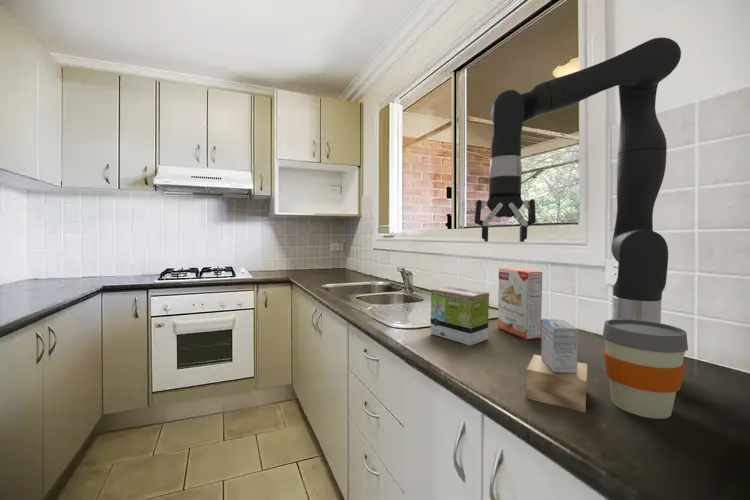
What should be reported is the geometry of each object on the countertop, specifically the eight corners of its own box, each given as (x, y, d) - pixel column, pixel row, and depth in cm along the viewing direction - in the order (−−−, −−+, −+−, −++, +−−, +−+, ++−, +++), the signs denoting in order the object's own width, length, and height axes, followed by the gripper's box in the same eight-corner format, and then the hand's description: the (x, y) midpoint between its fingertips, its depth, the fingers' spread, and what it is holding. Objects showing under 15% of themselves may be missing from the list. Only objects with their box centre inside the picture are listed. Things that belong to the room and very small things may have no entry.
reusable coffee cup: (592, 405, 66) (595, 326, 65) (609, 385, 75) (611, 315, 74) (680, 432, 57) (685, 341, 56) (687, 406, 66) (691, 327, 65)
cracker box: (496, 328, 120) (497, 267, 119) (511, 327, 122) (512, 266, 121) (525, 340, 107) (527, 271, 106) (541, 338, 109) (543, 271, 108)
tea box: (429, 335, 112) (429, 288, 111) (448, 329, 119) (449, 285, 118) (470, 346, 101) (471, 295, 100) (489, 339, 107) (490, 291, 107)
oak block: (586, 392, 72) (587, 363, 72) (585, 413, 64) (586, 381, 63) (533, 381, 77) (534, 354, 77) (525, 399, 69) (526, 369, 69)
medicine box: (577, 374, 66) (579, 329, 66) (552, 372, 67) (553, 327, 67) (563, 360, 74) (564, 319, 73) (540, 358, 75) (541, 318, 74)
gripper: (532, 178, 90) (530, 241, 91) (474, 179, 93) (473, 241, 94) (539, 173, 83) (537, 242, 84) (476, 174, 86) (475, 241, 86)
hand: (503, 241), depth 89 cm, fingers open, 8 cm apart
